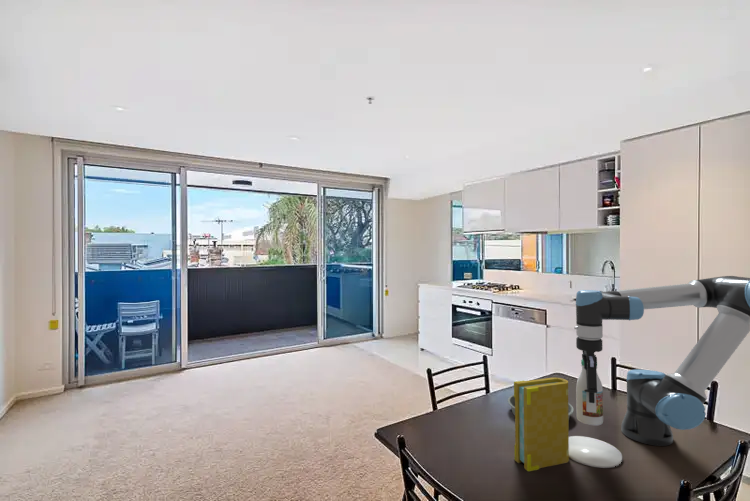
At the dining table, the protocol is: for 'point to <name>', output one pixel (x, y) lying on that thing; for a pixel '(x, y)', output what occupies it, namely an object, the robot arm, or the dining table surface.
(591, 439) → the white round plate
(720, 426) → the dining table surface
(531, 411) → the book
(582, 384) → the milk bottle
